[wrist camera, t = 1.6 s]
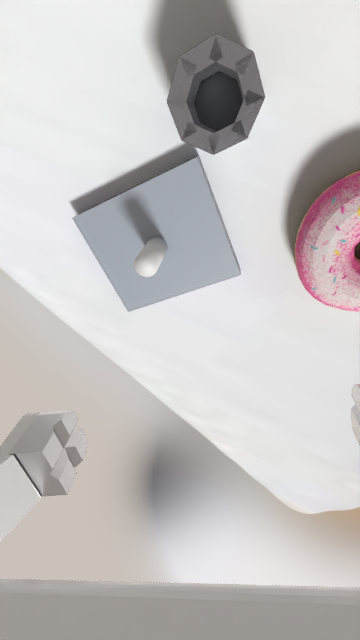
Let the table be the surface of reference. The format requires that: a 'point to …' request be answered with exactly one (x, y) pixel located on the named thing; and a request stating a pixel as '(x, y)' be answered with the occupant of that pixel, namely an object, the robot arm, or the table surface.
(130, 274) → the shaft block
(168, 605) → the robot arm
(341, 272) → the donut
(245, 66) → the ring
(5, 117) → the table surface
